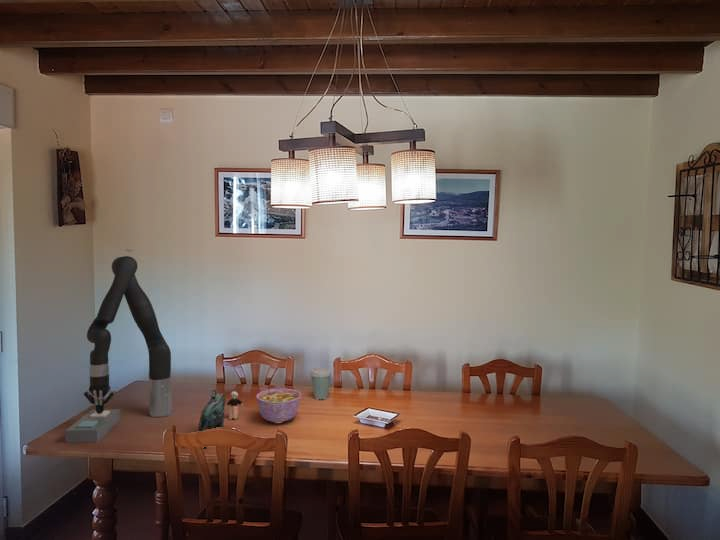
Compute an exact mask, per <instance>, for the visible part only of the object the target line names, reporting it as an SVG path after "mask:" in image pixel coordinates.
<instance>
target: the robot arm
mask: <svg viewBox="0 0 720 540" xmlns="http://www.w3.org/2000/svg"><path fill="white" fill-rule="evenodd" d="M111 270H112V274H113V275H114V278H113V279H112V283H111V286H110V287H109V290H108V291H107V292H106V294H105V297H104V298H103V300H102V302H101V304H100V307H99V310H98V312H97V315H96V317H95V318H94V319H93V321H92V323H91V324H90V326H89V327H88V329H87V331H86V332H87V333H86V338H87V340H88V342H89V343H92V344H94V346H93V347H94V348H93V350H91V351H90V353H89V372H88V374H89V387H88V390H87V391H84V393H83V395H84V397H85V398H86V399H87V401H88V402H89V403H90V404H92V405H95V410H96V412H97V414H101V413H102V412H103V411H104V410H105V405H106V404H107V403H109V402H110V400H112V398H113V397H114V396H115V394H116V393H117V392H116V391H115V390H112V388H111V386H110V366H109V365H110V363H109V351H110V349H111V343H112V335H111V331H110V330H109V329H107V327H108V325H110V324H112V323H114V322H115V320H116V316H117V313H118V311H119V309H120V305H121V303H122V300H123V297H124V298H125V301H126V304H127V305H128V309H129V311H130V314H131V317H132V319H133V320H134V322H135V324H136V326H137V328H138V329H139V330H140V332H141V334H142V335H143V337H144V340H145V343H146V347H147V351H148V391H149V392H148V397H149V399H148V404H149V406H148V407H149V411H148V413H149V416H150V417H153V418H162V417H168V416H170V415H171V413H172V412H173V391H172V390H171V382H172V381H171V370H172V353H171V348H170V346H169V344H168V343H167V341H166V340H165V338H164V336H163V334H162V332H161V330H160V327H159V323H158V319H157V316H156V313H155V310H154V308H153V305H152V303H151V301H150V299H149V297H148V296H147V294H146V292H145V291H144V289H143V288H142V287H141V286H140V284H139V281H138V279H137V277H136V272H137V270H138V262H137V260H136V259H135V258H133V257H132V256H130V255H127V256H125V255H124V256H119V257H115V259H114V260H113V261H112V263H111ZM107 394H108V396H107ZM106 396H107V397H106Z"/></svg>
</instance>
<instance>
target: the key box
mask: <svg viewBox="0 0 720 540" xmlns="http://www.w3.org/2000/svg"><path fill="white" fill-rule="evenodd" d="M95 411H96V409H91V410H89V412H87V413H85V414H84V415H83V416H82V417H80V418H79V419H78V420H77V421H76V422H75V423H73V424H72V425H70V427H68V428H67V429H65V443H67V444H68V443H73V444H74V443H76V444H77V443H78V444H80V443H99V441H100V440H101V439H102V438H103V437H104V436H106V434H108V433H109V432H110V431H111V430H112V429H113V428H114V427H115V426H116V425H117V424H118V423H119V422H120V421H121V410H120V409H117V408H116V409H104V411H110V414H108V415H107V416H106V417H90V415H91V414H93V413H94V412H95ZM83 421H99V423H98V424H97V425H96V426H95V427H93V428H77V426H78V425H79V424H80V423H81V422H83ZM114 425H115V426H114ZM113 426H114V427H113ZM112 427H113V428H112ZM111 428H112V429H111ZM110 429H111V430H110ZM109 430H110V431H109Z"/></svg>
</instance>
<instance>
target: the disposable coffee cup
mask: <svg viewBox="0 0 720 540" xmlns="http://www.w3.org/2000/svg"><path fill="white" fill-rule="evenodd" d="M331 375H332V372H331V371H330V369H328V368H324V367H314V368H312V369H311V371H310V376H311V385H312V391H313V397H314V399H315V398H318V399H324V398H327V399H328V395H329V389H330V383H331V378H332V377H331Z"/></svg>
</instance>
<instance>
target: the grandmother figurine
mask: <svg viewBox="0 0 720 540" xmlns="http://www.w3.org/2000/svg"><path fill="white" fill-rule="evenodd" d="M230 396H231V398H230V399H229V400H228V402H227V403H226V404H225V409H228V408H229V414H228V415H229V417H228V419H232V418H233V420H234V419H237V418H238V419H239V405H240V406H241V408H242V407H244V405H243V402H242V400H240V399H238V397H239V393H238V392H237V391H231V393H230ZM238 419H237V420H238Z"/></svg>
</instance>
